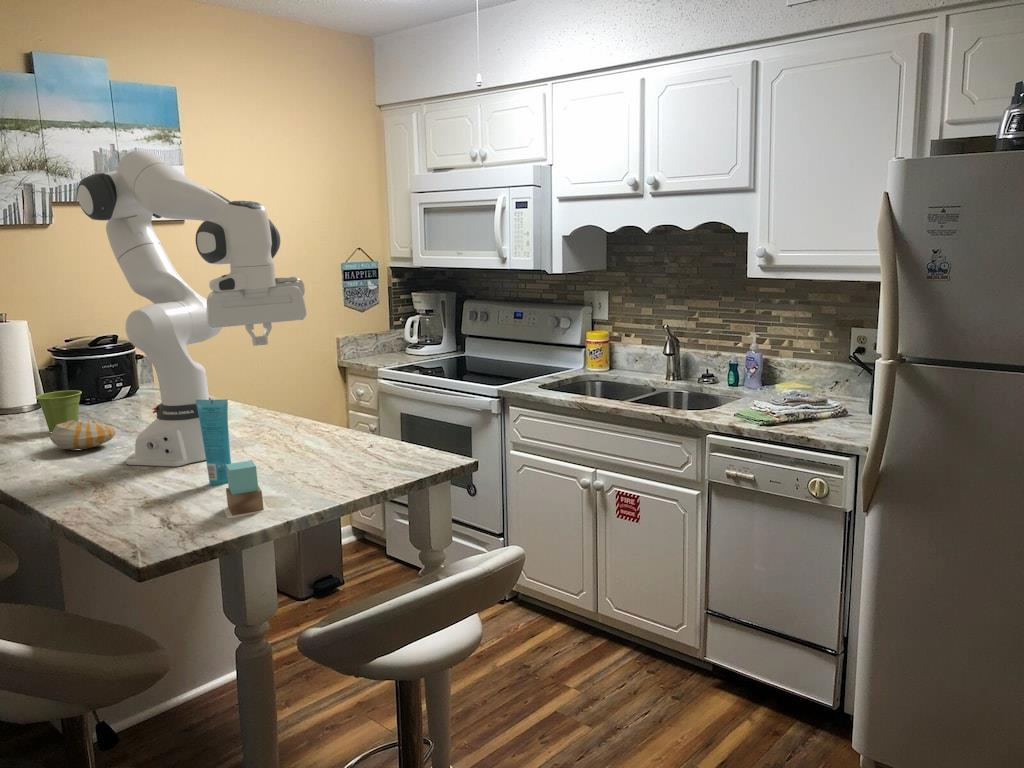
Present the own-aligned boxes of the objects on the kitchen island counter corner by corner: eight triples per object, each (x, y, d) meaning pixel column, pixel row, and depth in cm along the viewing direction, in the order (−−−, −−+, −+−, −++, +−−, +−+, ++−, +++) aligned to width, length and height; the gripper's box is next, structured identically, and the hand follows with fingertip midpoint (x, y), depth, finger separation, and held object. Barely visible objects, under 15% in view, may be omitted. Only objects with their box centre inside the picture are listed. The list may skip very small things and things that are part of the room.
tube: (241, 479, 189) (231, 396, 185) (233, 486, 184) (223, 401, 180) (208, 480, 189) (199, 397, 185) (200, 487, 184) (189, 402, 181)
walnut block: (232, 515, 163) (230, 496, 162) (227, 507, 168) (225, 488, 168) (263, 510, 166) (261, 490, 165) (258, 501, 171) (256, 482, 170)
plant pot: (81, 434, 239) (75, 396, 237) (36, 438, 236) (29, 400, 234) (91, 425, 250) (86, 388, 248) (48, 429, 248) (42, 392, 246)
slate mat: (199, 522, 162) (198, 519, 162) (224, 502, 174) (223, 499, 173) (269, 521, 161) (269, 518, 161) (289, 500, 173) (289, 497, 172)
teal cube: (232, 495, 163) (229, 470, 162) (228, 488, 167) (225, 464, 166) (258, 490, 165) (255, 466, 164) (254, 483, 170) (251, 460, 169)
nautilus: (39, 448, 228) (98, 439, 238) (60, 457, 212) (122, 448, 222) (36, 419, 227) (95, 412, 237) (56, 426, 211) (119, 418, 221)
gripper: (300, 275, 182) (305, 338, 185) (201, 282, 174) (208, 348, 176) (306, 276, 177) (312, 341, 179) (204, 283, 168) (212, 351, 171)
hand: (260, 344), depth 178 cm, fingers closed
